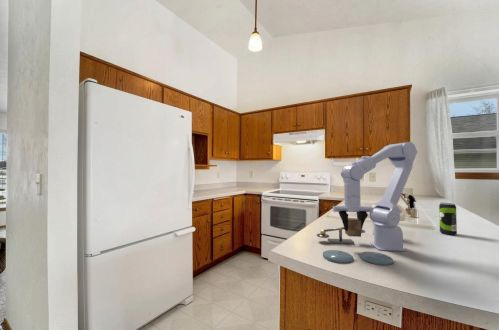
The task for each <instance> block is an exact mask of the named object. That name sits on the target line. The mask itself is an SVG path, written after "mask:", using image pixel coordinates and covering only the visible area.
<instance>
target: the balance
mask: <svg viewBox="0 0 499 330" xmlns="http://www.w3.org/2000/svg"><path fill="white" fill-rule="evenodd" d="M343 230H344V226H338V227H335V228H327V229H321V230H320V231H319V233H317V234H316V236H317V237H318V238H322V239H327V242H328V243H329V244H338V245H355V241H354V240H353V239H350V238H346V239H345V238H343ZM333 231H338V238H330V235H329V234H327V232H333ZM365 233H366V230H365V229H362V231H361V234H365Z"/></svg>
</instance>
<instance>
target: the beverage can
mask: <svg viewBox="0 0 499 330" xmlns="http://www.w3.org/2000/svg"><path fill="white" fill-rule="evenodd" d="M438 209H439V212H438V214H439V216H438V218H439V232H440V233H441V234H443V235H446V236H456V235H457V234H458V231H457V230H458V228H457V225H458V224H457V223H458V222H457V205H456V203H452V202H440V203H439V205H438Z"/></svg>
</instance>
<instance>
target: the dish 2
mask: <svg viewBox="0 0 499 330" xmlns="http://www.w3.org/2000/svg"><path fill="white" fill-rule="evenodd" d="M359 258H360V259H361V260H362V261H364V262H366V263H369V264H373V265H377V266H391V265H393V262H394V260H393V258H392V257H391V256H390V255H387V254H384V253H380V252H378V251H377V252H375V251H362V252H360V254H359Z"/></svg>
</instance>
